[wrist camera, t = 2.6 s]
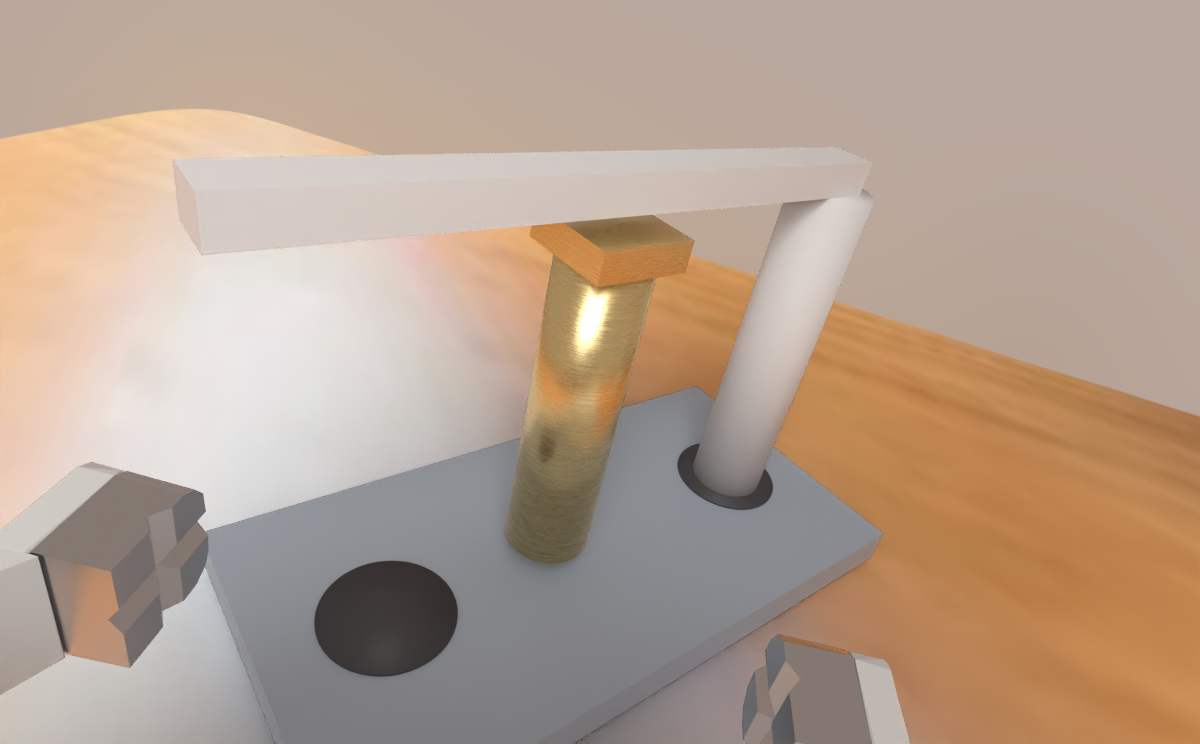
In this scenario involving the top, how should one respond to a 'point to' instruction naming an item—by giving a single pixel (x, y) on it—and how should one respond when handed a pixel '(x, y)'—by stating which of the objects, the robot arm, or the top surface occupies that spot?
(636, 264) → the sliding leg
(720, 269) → the top surface
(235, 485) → the top surface
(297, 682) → the bolt plate
